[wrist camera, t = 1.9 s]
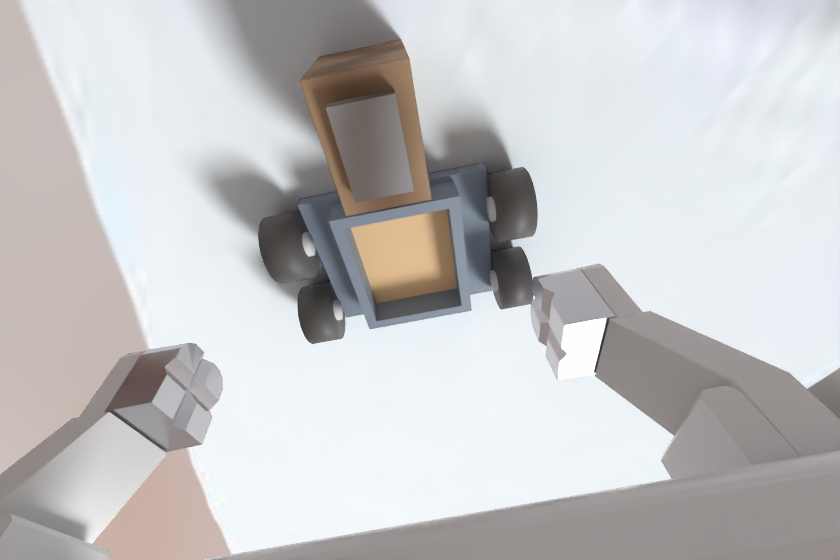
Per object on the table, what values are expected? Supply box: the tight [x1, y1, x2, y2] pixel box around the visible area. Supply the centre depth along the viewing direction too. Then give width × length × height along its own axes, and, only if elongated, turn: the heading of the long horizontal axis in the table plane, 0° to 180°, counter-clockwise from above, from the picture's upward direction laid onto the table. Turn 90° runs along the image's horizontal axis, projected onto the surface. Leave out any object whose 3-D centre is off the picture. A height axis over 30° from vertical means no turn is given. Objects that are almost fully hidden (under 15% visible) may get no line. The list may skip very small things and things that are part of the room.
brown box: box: [300, 40, 432, 216], centre depth 21 cm, size 5×7×8 cm
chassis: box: [258, 163, 538, 344], centre depth 29 cm, size 19×12×5 cm, turn 99°
